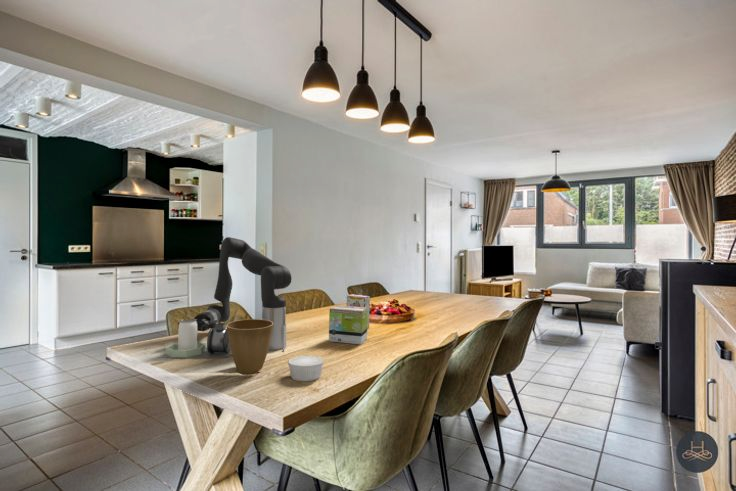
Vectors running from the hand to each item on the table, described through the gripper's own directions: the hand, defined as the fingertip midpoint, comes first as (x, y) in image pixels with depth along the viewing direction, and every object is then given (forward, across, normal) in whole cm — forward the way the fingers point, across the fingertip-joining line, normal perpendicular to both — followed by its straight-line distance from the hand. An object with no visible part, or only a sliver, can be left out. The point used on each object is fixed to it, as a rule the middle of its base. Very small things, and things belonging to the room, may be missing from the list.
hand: (191, 328), depth 154 cm
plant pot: (+24, +28, +9) cm, 38 cm away
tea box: (-17, +61, +9) cm, 64 cm away
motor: (+5, +12, +8) cm, 16 cm away
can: (+5, +1, +8) cm, 9 cm away
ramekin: (+29, +47, +9) cm, 56 cm away
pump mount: (+5, +5, +9) cm, 11 cm away
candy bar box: (-43, +66, +9) cm, 79 cm away
